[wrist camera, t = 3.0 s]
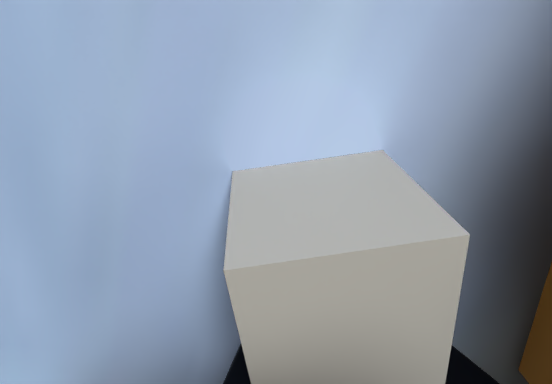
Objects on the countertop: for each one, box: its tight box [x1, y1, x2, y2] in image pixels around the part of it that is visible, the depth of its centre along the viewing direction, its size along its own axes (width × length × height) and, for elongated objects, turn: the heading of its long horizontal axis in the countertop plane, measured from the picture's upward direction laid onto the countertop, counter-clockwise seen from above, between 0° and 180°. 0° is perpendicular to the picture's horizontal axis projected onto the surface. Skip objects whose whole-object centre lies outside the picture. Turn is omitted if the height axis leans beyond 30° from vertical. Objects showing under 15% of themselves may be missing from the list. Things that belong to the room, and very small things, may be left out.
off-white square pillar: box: [223, 150, 470, 384], centre depth 8 cm, size 9×4×4 cm, turn 7°
